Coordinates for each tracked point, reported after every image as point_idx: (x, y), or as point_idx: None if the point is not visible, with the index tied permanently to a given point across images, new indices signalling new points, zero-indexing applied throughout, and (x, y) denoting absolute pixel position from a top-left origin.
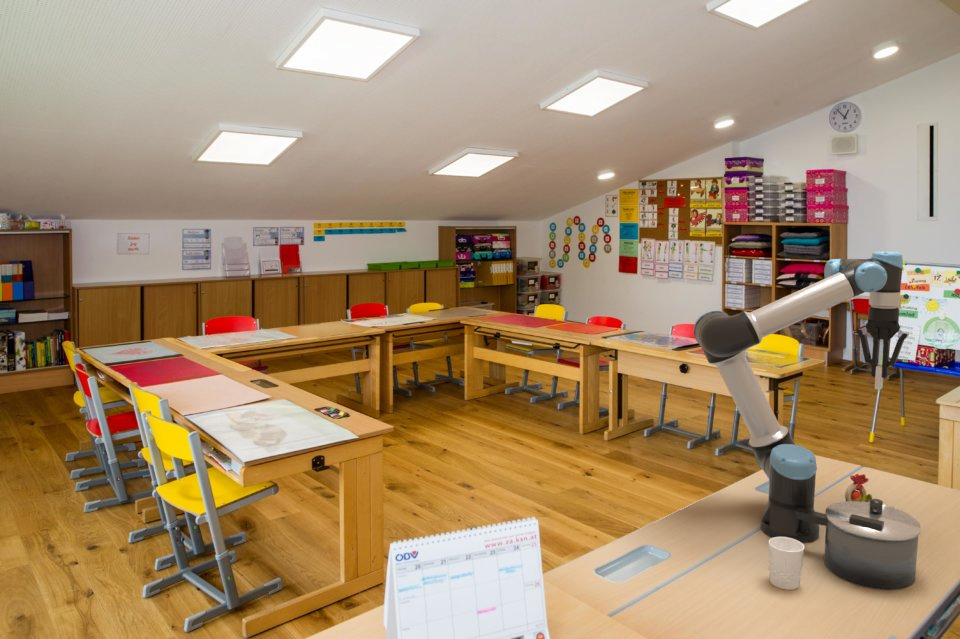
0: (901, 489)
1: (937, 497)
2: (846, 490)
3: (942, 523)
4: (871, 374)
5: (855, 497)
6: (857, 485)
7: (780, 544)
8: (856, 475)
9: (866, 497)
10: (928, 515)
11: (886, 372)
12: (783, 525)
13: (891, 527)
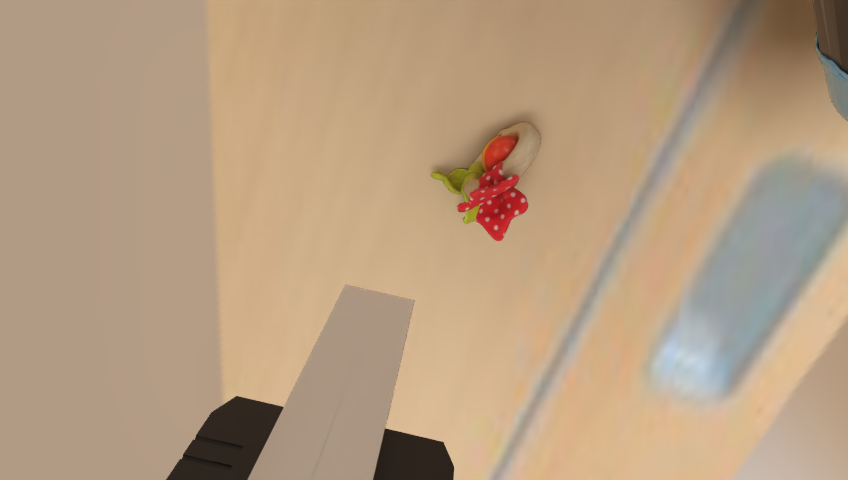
0: None
1: (257, 355)
2: (538, 145)
3: (236, 138)
4: (452, 467)
5: (502, 137)
6: (498, 167)
7: None
8: (505, 185)
9: (462, 183)
10: (277, 190)
11: (179, 463)
12: None
13: None
